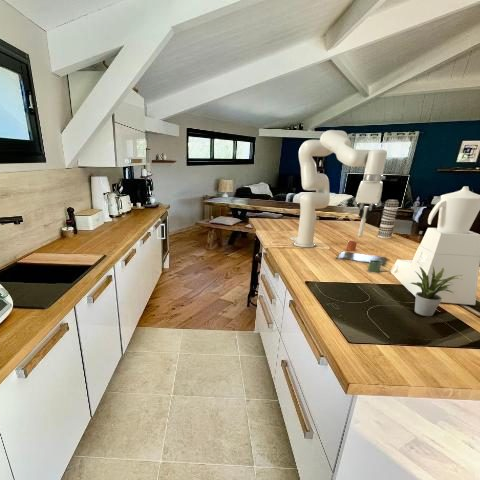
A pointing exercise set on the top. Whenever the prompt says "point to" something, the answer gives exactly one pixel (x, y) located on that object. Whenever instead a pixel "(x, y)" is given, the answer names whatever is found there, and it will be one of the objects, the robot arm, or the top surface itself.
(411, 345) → the top surface
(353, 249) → the reddish-brown cube
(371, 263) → the green cube
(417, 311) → the house plant
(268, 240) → the top surface
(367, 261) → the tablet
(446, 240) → the blender
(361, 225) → the stylus
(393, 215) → the tower model
